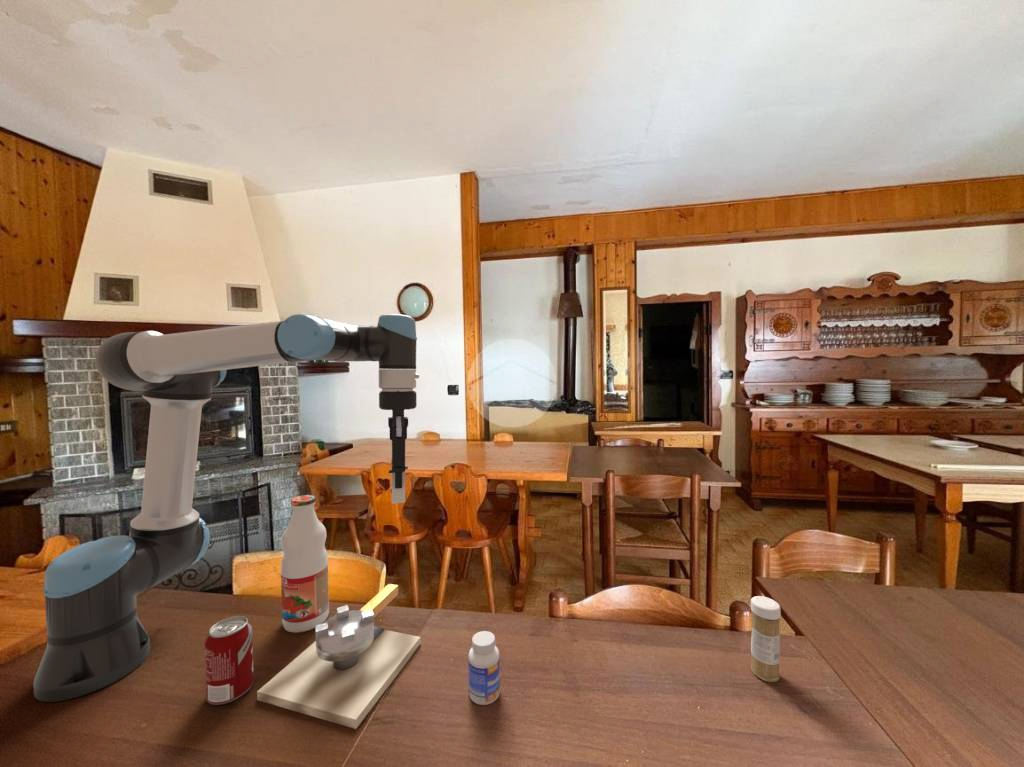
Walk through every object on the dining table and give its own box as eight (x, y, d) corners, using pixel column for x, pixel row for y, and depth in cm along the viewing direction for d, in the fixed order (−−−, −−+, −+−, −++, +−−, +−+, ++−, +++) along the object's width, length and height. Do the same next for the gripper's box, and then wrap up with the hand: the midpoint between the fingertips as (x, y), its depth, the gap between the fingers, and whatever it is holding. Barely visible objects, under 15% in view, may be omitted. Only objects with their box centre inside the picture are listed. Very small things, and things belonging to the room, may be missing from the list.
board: (257, 700, 67) (256, 671, 67) (339, 627, 87) (338, 604, 86) (356, 729, 62) (355, 697, 62) (420, 644, 81) (420, 620, 81)
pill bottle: (492, 710, 65) (491, 652, 65) (463, 701, 67) (462, 645, 66) (504, 685, 70) (504, 632, 70) (477, 677, 72) (476, 625, 72)
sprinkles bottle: (762, 662, 75) (762, 592, 75) (786, 679, 71) (786, 606, 70) (744, 668, 73) (745, 597, 73) (767, 687, 69) (768, 611, 69)
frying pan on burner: (350, 666, 68) (350, 642, 68) (303, 655, 71) (302, 632, 70) (413, 598, 88) (412, 580, 88) (374, 592, 91) (374, 574, 91)
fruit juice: (336, 617, 90) (334, 496, 89) (293, 640, 82) (289, 508, 82) (317, 603, 96) (314, 489, 95) (275, 622, 88) (271, 499, 88)
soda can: (229, 711, 65) (227, 640, 65) (196, 705, 66) (193, 635, 66) (263, 680, 72) (261, 615, 71) (232, 675, 73) (230, 611, 73)
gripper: (418, 391, 77) (419, 510, 78) (414, 388, 89) (414, 491, 90) (378, 391, 75) (379, 514, 75) (379, 388, 87) (380, 494, 88)
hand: (398, 501), depth 83 cm, fingers closed
